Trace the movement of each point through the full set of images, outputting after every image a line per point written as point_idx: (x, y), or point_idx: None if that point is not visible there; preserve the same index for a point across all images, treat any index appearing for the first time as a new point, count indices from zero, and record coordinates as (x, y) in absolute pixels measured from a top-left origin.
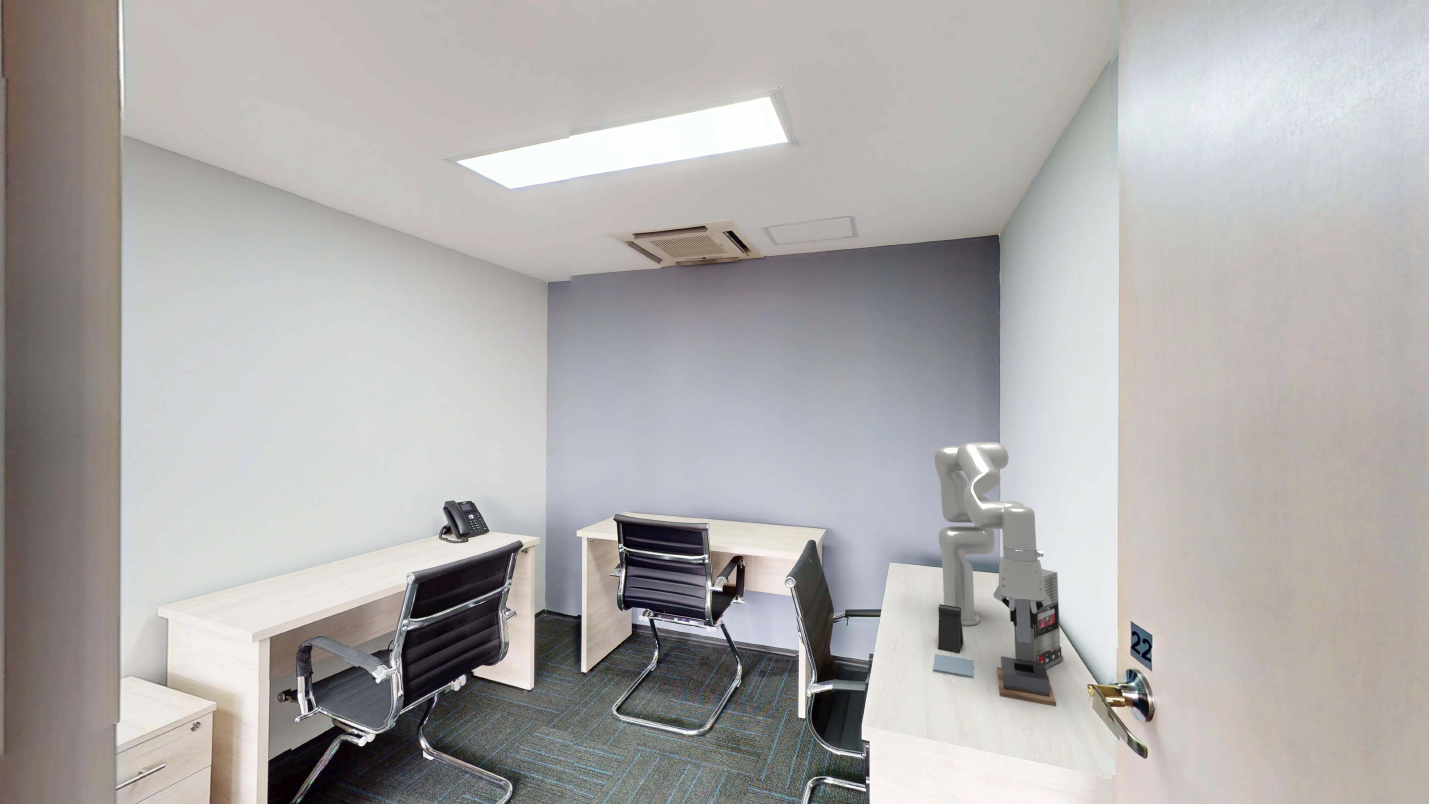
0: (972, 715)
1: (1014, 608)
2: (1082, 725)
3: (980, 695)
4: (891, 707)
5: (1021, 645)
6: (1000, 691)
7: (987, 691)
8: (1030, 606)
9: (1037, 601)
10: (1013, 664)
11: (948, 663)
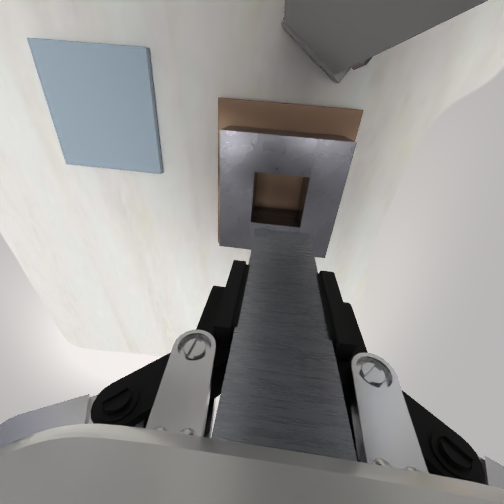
0: (176, 305)
1: (219, 388)
2: (344, 297)
3: (184, 245)
4: (66, 309)
5: (310, 22)
6: (219, 240)
7: (196, 226)
8: (349, 389)
9: (438, 468)
10: (252, 185)
11: (87, 110)
